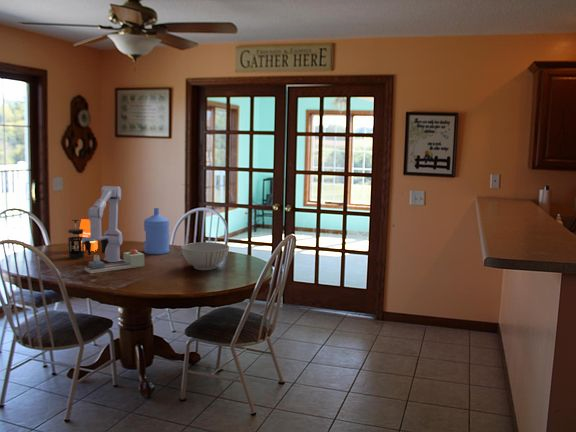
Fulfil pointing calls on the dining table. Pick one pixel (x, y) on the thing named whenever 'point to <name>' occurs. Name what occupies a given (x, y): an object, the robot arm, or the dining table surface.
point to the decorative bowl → (205, 254)
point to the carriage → (96, 262)
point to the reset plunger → (133, 251)
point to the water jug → (156, 234)
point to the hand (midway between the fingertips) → (96, 254)
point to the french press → (73, 253)
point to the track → (121, 263)
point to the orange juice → (87, 234)
